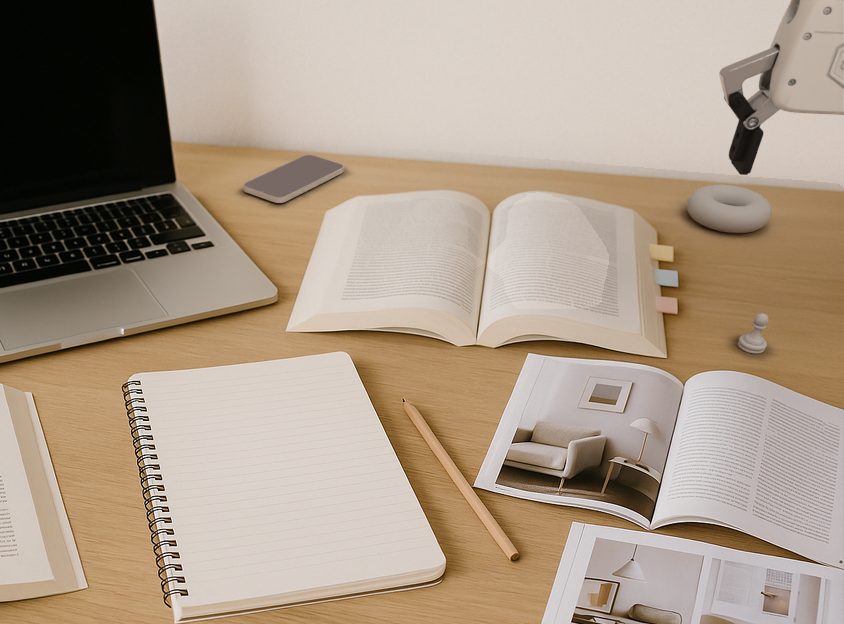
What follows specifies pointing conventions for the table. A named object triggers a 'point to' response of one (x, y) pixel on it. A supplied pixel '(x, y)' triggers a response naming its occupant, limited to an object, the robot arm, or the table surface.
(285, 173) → the smartphone
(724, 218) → the donut
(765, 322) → the pawn
